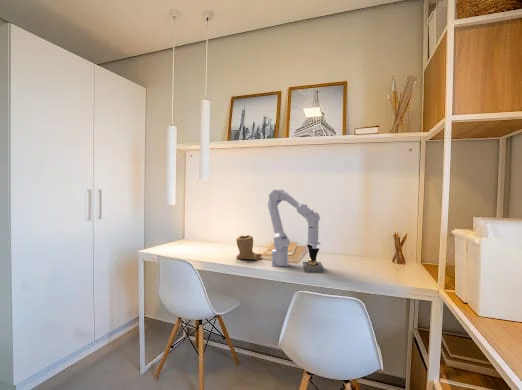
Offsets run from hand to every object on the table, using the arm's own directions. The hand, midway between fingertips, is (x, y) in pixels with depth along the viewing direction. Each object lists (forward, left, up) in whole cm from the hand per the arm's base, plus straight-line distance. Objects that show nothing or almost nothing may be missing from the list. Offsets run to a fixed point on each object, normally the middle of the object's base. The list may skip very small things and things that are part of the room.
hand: (312, 259), depth 156 cm
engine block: (0, 0, -6) cm, 6 cm away
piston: (0, 0, -6) cm, 6 cm away
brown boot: (-38, +19, -6) cm, 43 cm away
